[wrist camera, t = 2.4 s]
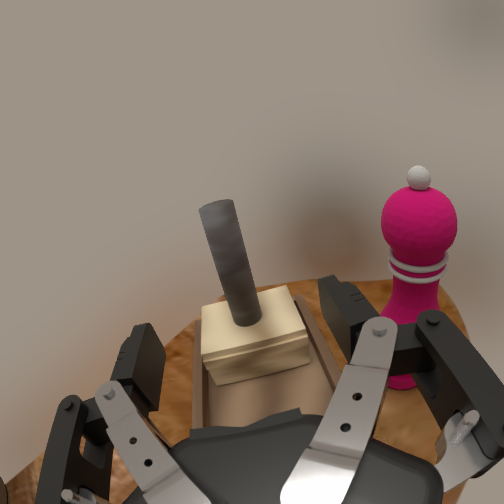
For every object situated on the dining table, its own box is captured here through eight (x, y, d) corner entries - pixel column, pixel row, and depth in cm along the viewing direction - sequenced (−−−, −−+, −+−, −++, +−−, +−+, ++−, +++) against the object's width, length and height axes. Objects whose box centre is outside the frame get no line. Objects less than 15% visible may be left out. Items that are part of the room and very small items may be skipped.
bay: (208, 513, 15) (193, 507, 13) (202, 337, 36) (195, 320, 35) (378, 474, 15) (384, 463, 14) (304, 311, 37) (301, 293, 35)
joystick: (216, 388, 27) (149, 239, 19) (214, 337, 34) (166, 209, 27) (311, 364, 27) (286, 203, 20) (292, 317, 34) (265, 182, 27)
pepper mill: (422, 402, 20) (468, 183, 11) (357, 382, 24) (353, 175, 16) (439, 350, 24) (465, 160, 16) (383, 336, 29) (383, 156, 20)
